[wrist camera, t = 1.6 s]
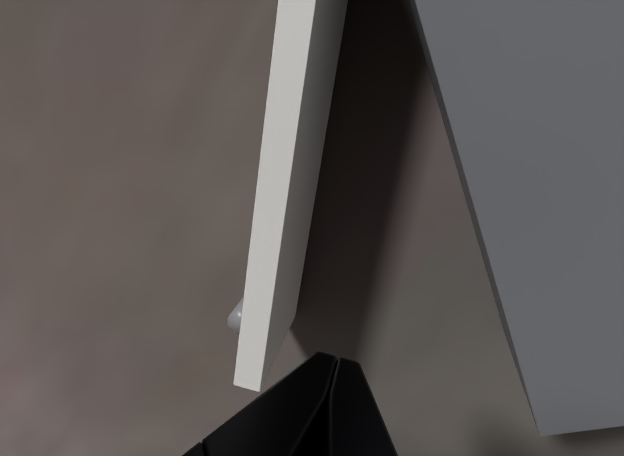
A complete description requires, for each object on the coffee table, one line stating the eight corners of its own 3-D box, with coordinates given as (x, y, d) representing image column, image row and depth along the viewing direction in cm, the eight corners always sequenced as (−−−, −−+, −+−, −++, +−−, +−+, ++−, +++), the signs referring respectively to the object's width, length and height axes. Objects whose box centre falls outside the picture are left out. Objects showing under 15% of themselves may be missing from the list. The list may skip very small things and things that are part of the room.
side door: (312, -120, 16) (265, -207, 11) (369, -114, 16) (348, -200, 10) (257, 306, 22) (210, 378, 17) (297, 316, 22) (262, 392, 17)
